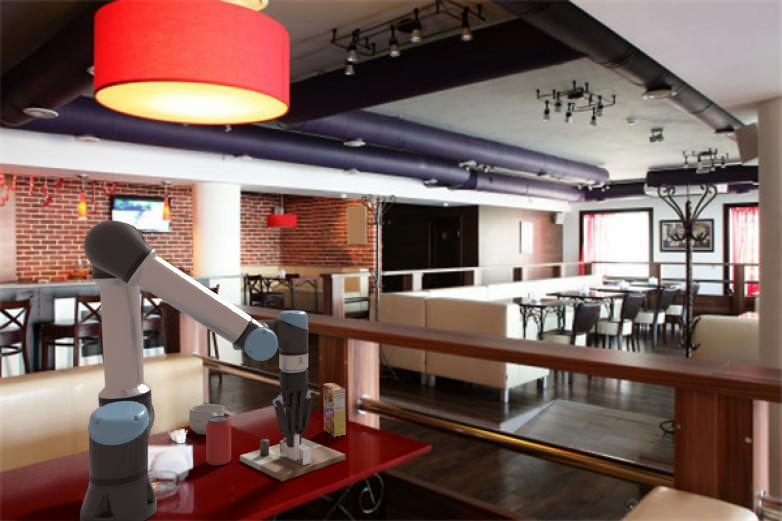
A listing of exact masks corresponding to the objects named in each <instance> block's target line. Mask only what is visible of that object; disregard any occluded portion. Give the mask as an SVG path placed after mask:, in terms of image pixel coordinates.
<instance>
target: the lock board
mask: <svg viewBox="0 0 782 521" xmlns="http://www.w3.org/2000/svg"><path fill="white" fill-rule="evenodd" d="M259 444H260V446H259V447H260V448H259V449H258V450H253V451H251V452H248V453H244V454H243V453H242V454H241V455H239V461H240V462H242V463H243V464H246V465H248V466H250V467H251V468H254V469H256V470H258V471H260V472H262V473H264V474H266V475H268V476H271V477H272V478H274V479H277V480H279V481H281V482H285V481H288V480H291V479H293V478H295V477H299V476H302V475H305V474H309V473H311V472H313V471H316V470H319V469H322V468H326V467H328V466H331V465H333V464H336V463H340V462H342V460H343V461H345V460H346V453H342V452H340V451H338V450H335V449H333V448H330V447H327V446H324V445H322V444H319V443H317V442H315V441H312V440H309V439H306V438H303V437H301V444H302V445H305V446H307V447H310V448H311V463H309V464H306V465H301V464H298V463H296V462H294V461H291V460H289V459H287V458H284V457H282V456H280V443H278V444H275V445H272V446H270V439H268V438H264V439H260V440H259Z"/></svg>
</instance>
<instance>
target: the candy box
mask: <svg viewBox="0 0 782 521" xmlns="http://www.w3.org/2000/svg"><path fill="white" fill-rule="evenodd" d="M346 428H347V427H346V388H344V387H342V386H341V385H339V384H337V383H335V382H331V383H330V382H329V383H324V384H323V429H324V431H325V430H326V431H327V432H328V434H329V433H330V434H331V435H333V436H334V437H336V436H341V435H347V434H346ZM326 431H325V432H326ZM327 432H326V433H327ZM330 434H329V435H330ZM331 435H330V436H331ZM333 436H332V437H333ZM334 437H333V438H334Z"/></svg>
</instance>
